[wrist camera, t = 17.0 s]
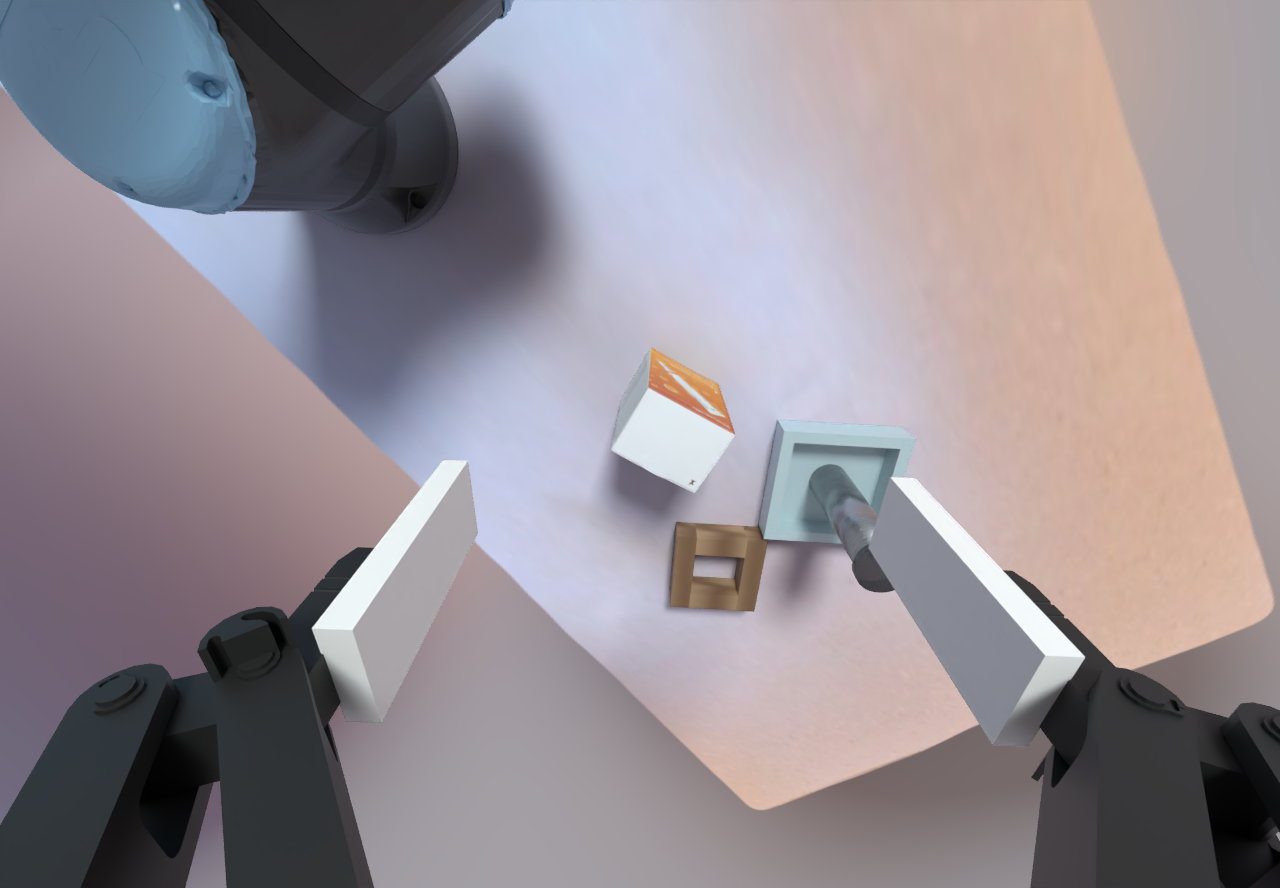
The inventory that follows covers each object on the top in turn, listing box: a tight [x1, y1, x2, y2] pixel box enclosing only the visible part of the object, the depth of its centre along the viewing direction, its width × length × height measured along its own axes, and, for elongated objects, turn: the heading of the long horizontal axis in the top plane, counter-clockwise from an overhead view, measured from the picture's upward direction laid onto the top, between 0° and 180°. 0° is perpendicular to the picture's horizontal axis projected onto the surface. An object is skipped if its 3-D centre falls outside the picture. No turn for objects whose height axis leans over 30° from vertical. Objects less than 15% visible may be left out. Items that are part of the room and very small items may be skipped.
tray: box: [759, 420, 916, 544], centre depth 52 cm, size 13×13×3 cm
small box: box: [611, 348, 735, 493], centre depth 44 cm, size 8×6×13 cm
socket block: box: [670, 522, 767, 611], centre depth 58 cm, size 10×10×3 cm
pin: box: [809, 464, 895, 592], centre depth 47 cm, size 5×5×15 cm
